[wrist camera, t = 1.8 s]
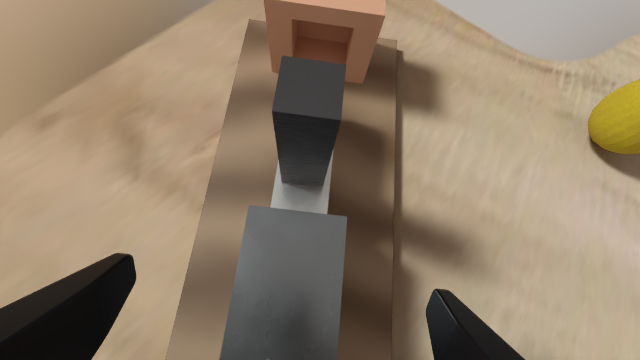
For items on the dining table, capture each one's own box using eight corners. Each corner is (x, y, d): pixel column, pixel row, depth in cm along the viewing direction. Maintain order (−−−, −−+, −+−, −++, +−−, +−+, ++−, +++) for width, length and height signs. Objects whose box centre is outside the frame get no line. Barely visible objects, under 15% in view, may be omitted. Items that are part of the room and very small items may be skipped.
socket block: (362, 83, 26) (385, 15, 19) (271, 71, 26) (263, -2, 19) (365, 40, 28) (387, -37, 21) (280, 27, 27) (275, -54, 21)
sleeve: (311, 484, 17) (320, 588, 11) (218, 476, 16) (177, 578, 11) (333, 235, 21) (347, 216, 16) (261, 226, 21) (248, 204, 15)
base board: (383, 501, 17) (388, 513, 16) (141, 481, 17) (132, 492, 16) (393, 48, 29) (396, 40, 28) (250, 28, 28) (249, 19, 27)
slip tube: (296, 480, 15) (297, 858, 5) (233, 475, 15) (110, 852, 5) (334, 101, 23) (364, -40, 13) (293, 95, 23) (292, -52, 13)
